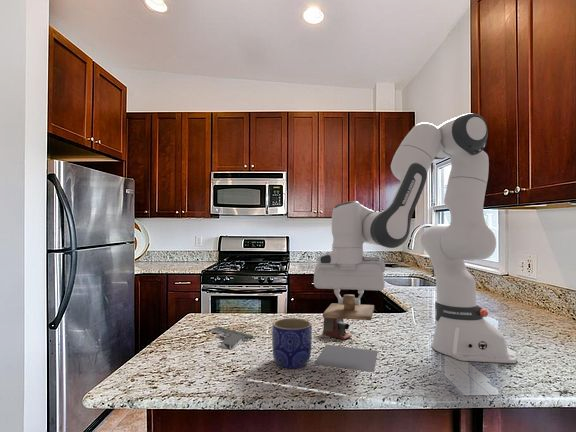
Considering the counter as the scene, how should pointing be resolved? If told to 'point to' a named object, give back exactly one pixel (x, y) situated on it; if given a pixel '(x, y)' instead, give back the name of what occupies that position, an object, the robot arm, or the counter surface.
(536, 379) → the counter surface
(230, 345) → the handgun
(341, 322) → the electronic device
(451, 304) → the robot arm
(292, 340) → the planter
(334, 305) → the lid
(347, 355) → the mat
